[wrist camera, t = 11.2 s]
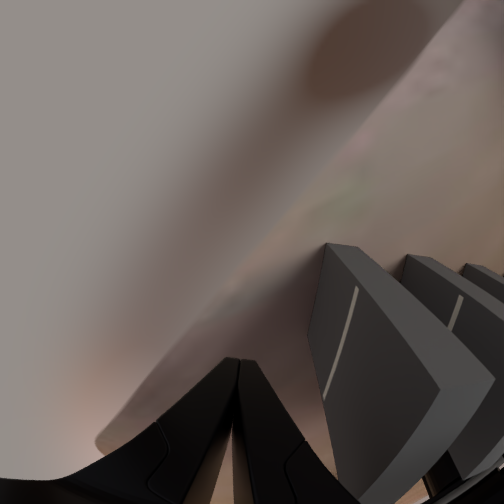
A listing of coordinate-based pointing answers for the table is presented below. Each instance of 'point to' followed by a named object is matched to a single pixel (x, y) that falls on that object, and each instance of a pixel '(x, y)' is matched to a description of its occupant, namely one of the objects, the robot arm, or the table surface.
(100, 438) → the table surface
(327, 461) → the table surface
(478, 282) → the domino
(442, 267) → the domino
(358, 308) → the domino
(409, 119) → the table surface
